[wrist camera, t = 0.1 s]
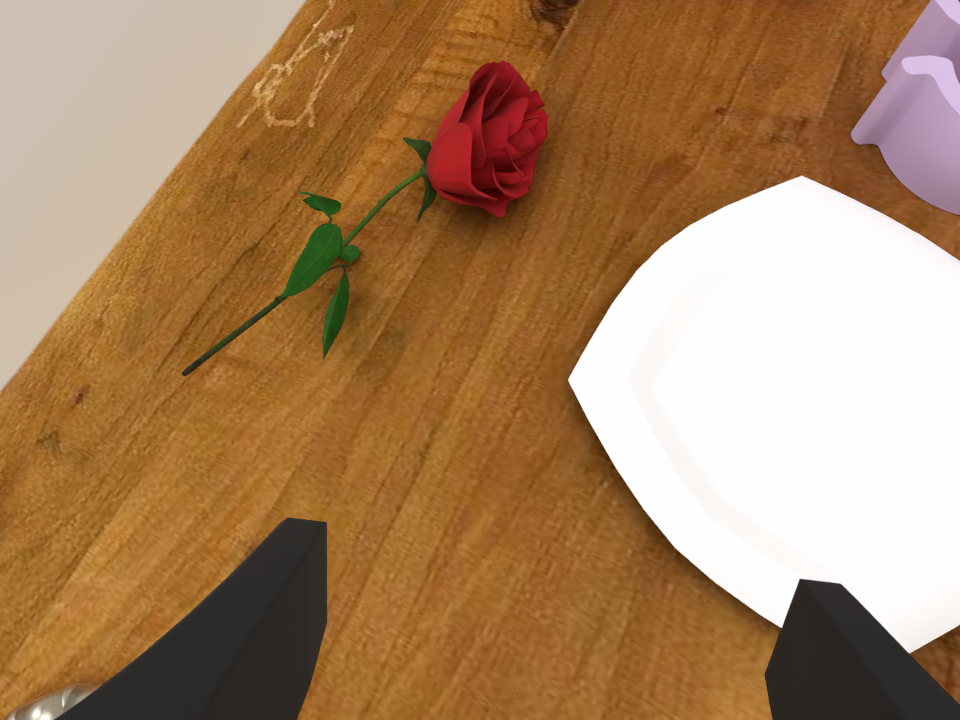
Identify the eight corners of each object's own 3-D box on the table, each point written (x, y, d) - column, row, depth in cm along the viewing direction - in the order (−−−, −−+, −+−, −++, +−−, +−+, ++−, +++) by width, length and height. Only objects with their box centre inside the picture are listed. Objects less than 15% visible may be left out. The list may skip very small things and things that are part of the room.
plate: (785, 148, 54) (796, 130, 52) (1127, 421, 47) (1154, 411, 45) (506, 386, 47) (508, 375, 45) (857, 749, 40) (876, 754, 38)
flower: (183, 355, 35) (577, 28, 46) (105, 296, 41) (470, 19, 52) (277, 467, 41) (604, 155, 52) (197, 401, 47) (506, 134, 58)
